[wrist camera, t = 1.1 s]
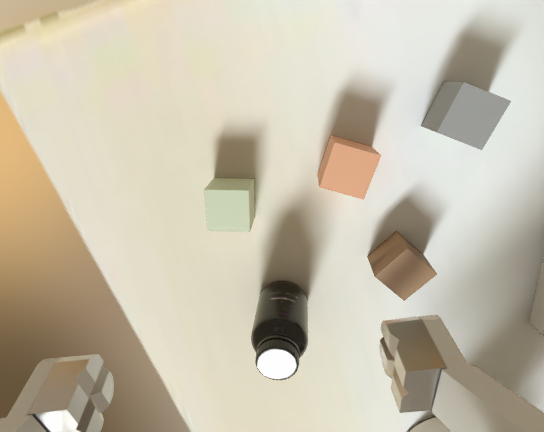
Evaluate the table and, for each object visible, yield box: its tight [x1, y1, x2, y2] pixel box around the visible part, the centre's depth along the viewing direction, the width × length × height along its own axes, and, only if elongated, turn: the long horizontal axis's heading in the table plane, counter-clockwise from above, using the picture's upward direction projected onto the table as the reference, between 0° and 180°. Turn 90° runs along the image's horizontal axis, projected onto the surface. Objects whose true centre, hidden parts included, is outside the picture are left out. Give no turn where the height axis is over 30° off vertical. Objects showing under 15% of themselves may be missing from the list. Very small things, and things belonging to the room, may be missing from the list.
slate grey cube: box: [421, 81, 511, 150], centre depth 37 cm, size 5×5×5 cm
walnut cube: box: [368, 231, 437, 301], centre depth 44 cm, size 5×5×5 cm
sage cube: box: [204, 178, 255, 232], centre depth 42 cm, size 5×5×5 cm
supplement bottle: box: [251, 281, 308, 380], centre depth 44 cm, size 7×7×12 cm
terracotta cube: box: [317, 135, 381, 199], centre depth 40 cm, size 5×5×5 cm
